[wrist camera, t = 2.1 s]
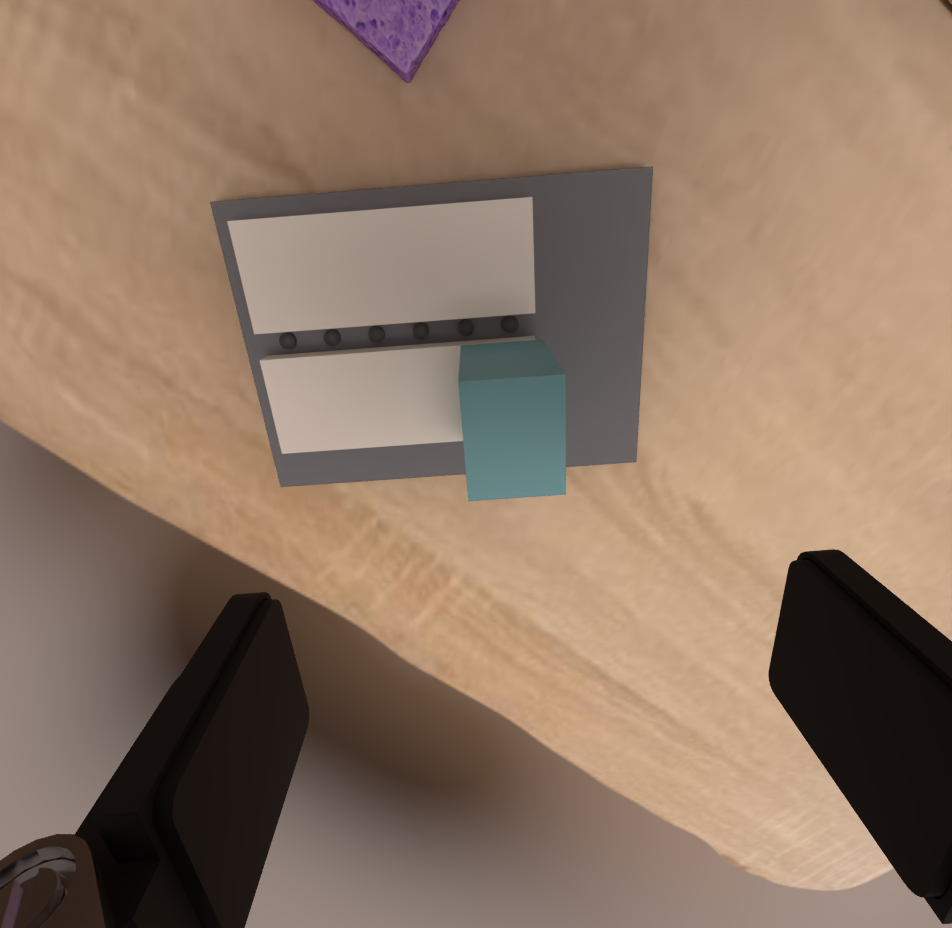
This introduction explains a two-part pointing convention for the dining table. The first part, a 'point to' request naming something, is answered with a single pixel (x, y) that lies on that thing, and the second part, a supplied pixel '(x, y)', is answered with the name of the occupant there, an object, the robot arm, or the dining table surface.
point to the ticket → (387, 268)
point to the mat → (555, 319)
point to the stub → (433, 407)
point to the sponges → (393, 27)
